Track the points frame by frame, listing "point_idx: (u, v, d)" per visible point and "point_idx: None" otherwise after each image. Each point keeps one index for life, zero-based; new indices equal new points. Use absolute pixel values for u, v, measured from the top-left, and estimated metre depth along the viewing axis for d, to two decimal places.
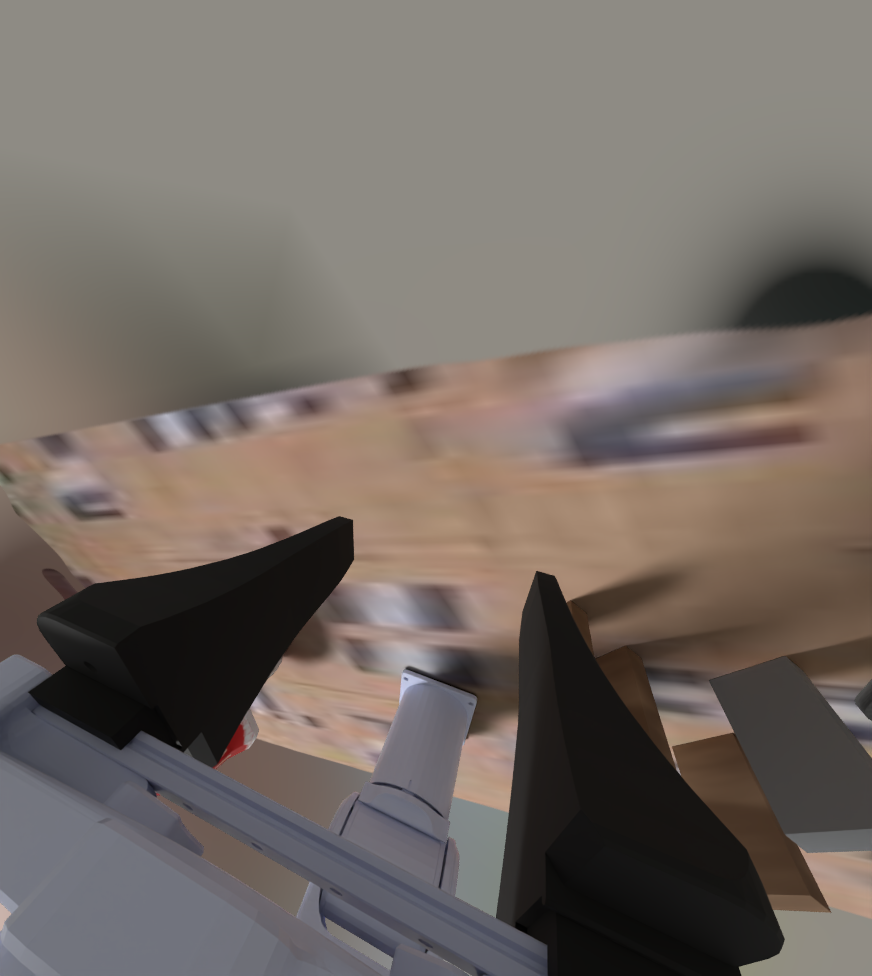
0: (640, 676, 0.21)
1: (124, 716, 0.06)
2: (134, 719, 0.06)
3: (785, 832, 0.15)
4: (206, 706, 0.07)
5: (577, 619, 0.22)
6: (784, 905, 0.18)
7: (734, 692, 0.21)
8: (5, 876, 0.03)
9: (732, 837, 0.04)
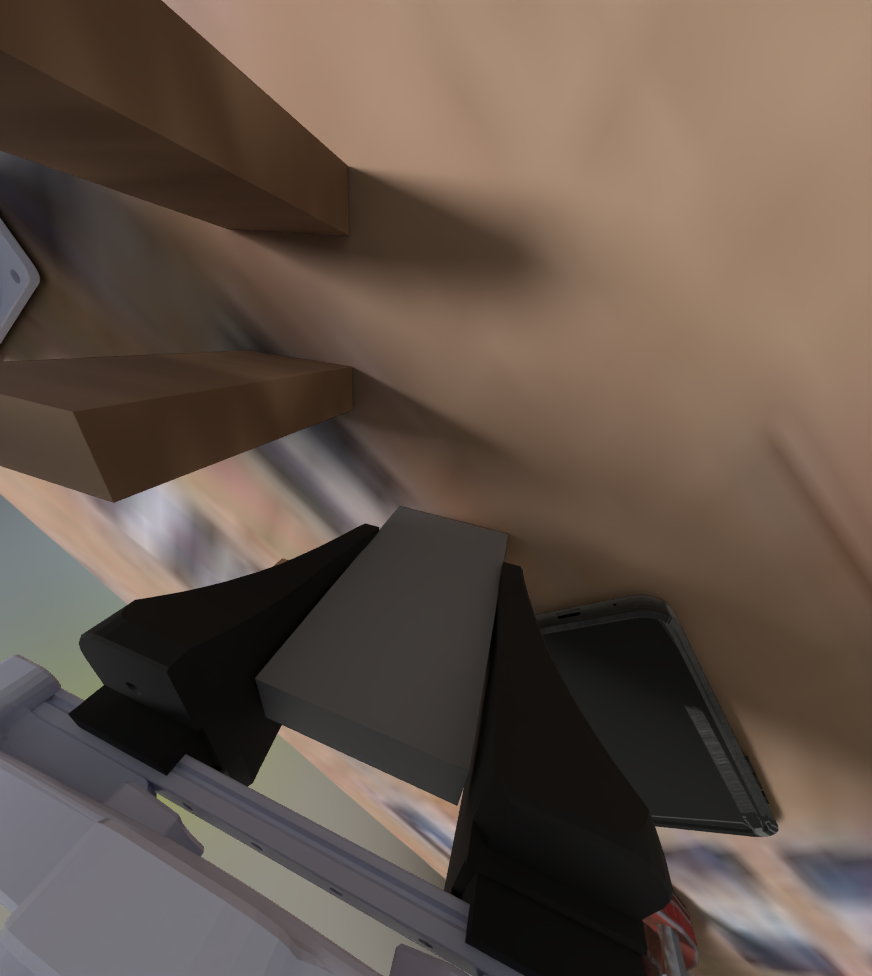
0: (321, 395, 0.10)
1: (169, 740, 0.06)
2: (179, 743, 0.06)
3: (260, 677, 0.07)
4: (245, 725, 0.07)
5: (319, 165, 0.08)
6: None
7: (413, 527, 0.12)
8: (4, 877, 0.03)
9: (638, 799, 0.04)
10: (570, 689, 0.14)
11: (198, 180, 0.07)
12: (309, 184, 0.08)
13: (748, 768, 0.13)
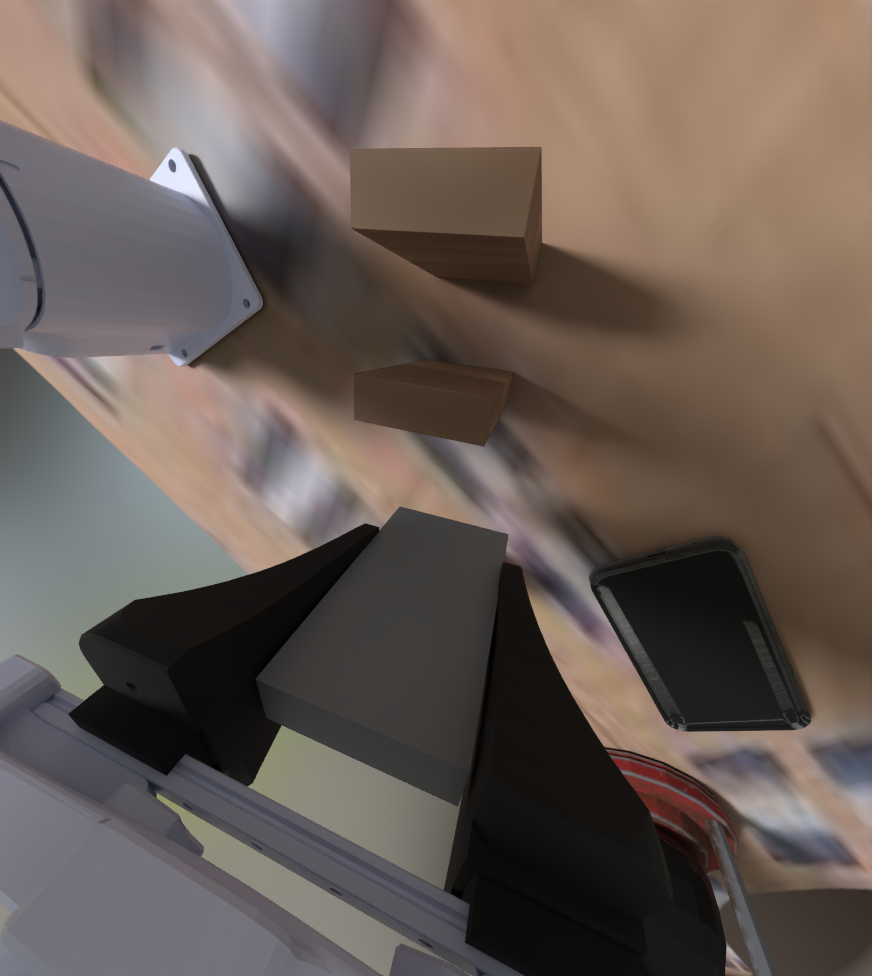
0: (507, 392, 0.15)
1: (169, 740, 0.06)
2: (179, 743, 0.06)
3: (260, 678, 0.07)
4: (245, 725, 0.07)
5: (538, 248, 0.13)
6: None
7: (413, 527, 0.12)
8: (5, 876, 0.03)
9: (637, 798, 0.04)
10: (652, 614, 0.19)
11: (494, 266, 0.11)
12: (535, 260, 0.13)
13: (789, 668, 0.18)
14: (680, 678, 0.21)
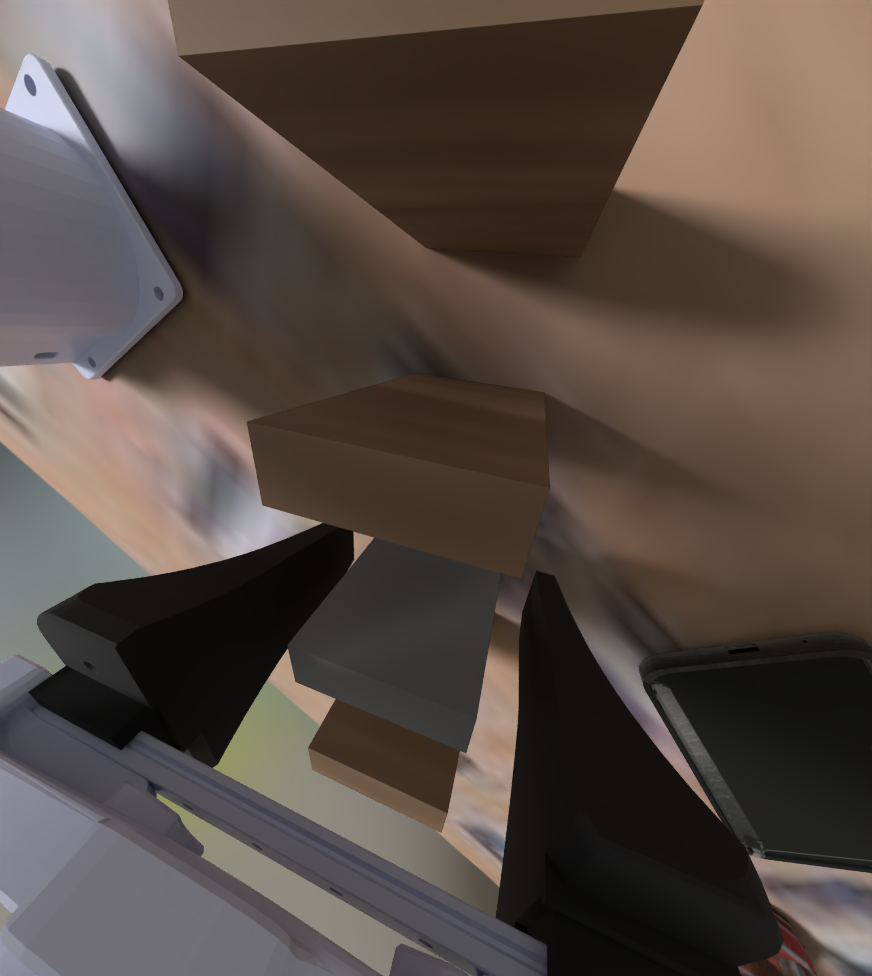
0: None
1: (124, 716, 0.06)
2: (134, 719, 0.06)
3: (291, 644, 0.08)
4: (206, 706, 0.07)
5: None
6: (386, 800, 0.10)
7: None
8: (5, 876, 0.03)
9: (732, 837, 0.04)
10: (729, 724, 0.14)
11: (531, 207, 0.06)
12: None
13: None
14: (763, 801, 0.15)
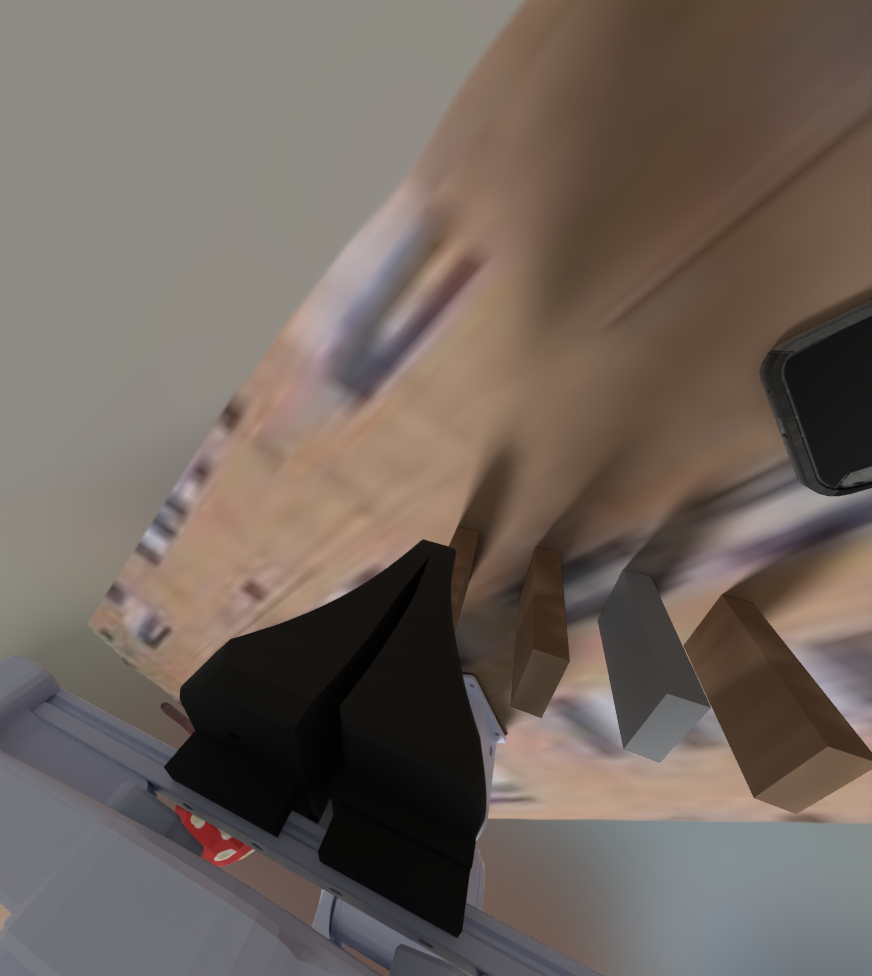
0: (547, 568, 0.19)
1: (279, 797, 0.05)
2: (288, 799, 0.05)
3: (624, 746, 0.15)
4: (336, 768, 0.07)
5: (459, 538, 0.21)
6: (828, 781, 0.12)
7: (606, 623, 0.20)
8: (5, 876, 0.03)
9: (472, 731, 0.05)
10: None
11: (465, 583, 0.19)
12: (465, 544, 0.20)
13: None
14: None
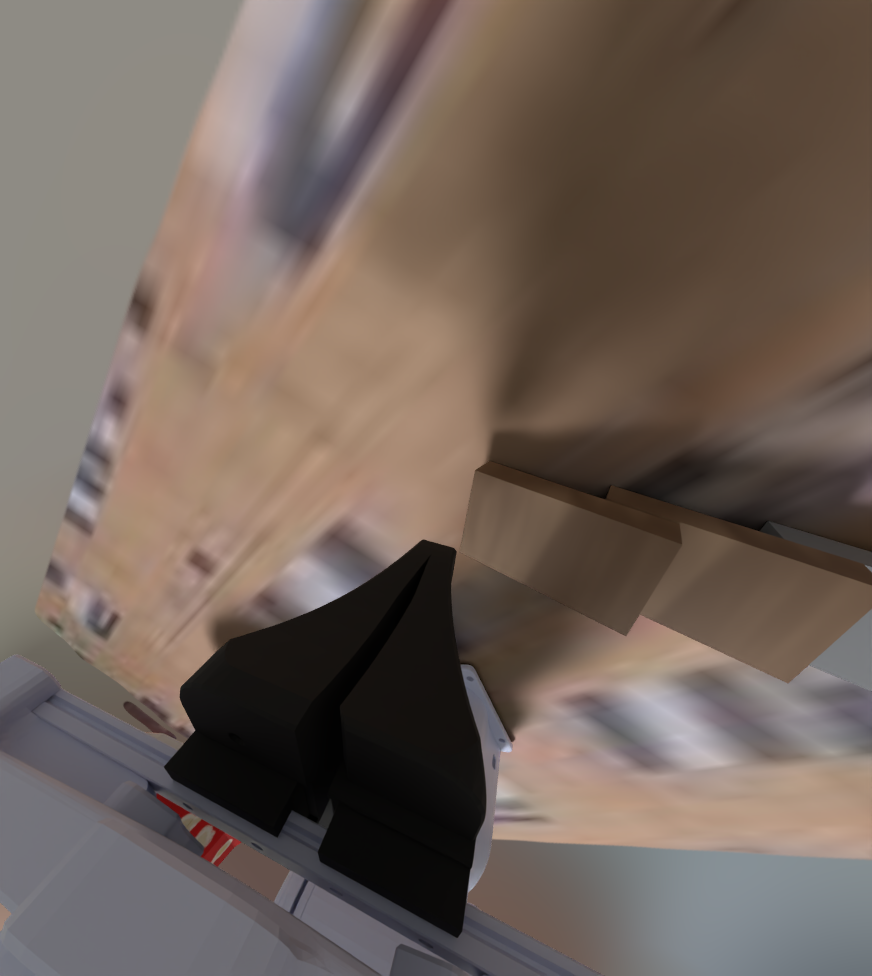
0: (661, 508, 0.13)
1: (279, 797, 0.05)
2: (288, 799, 0.05)
3: None
4: (337, 768, 0.07)
5: (507, 477, 0.14)
6: None
7: None
8: (5, 876, 0.03)
9: (473, 731, 0.05)
10: None
11: None
12: (521, 476, 0.14)
13: None
14: None
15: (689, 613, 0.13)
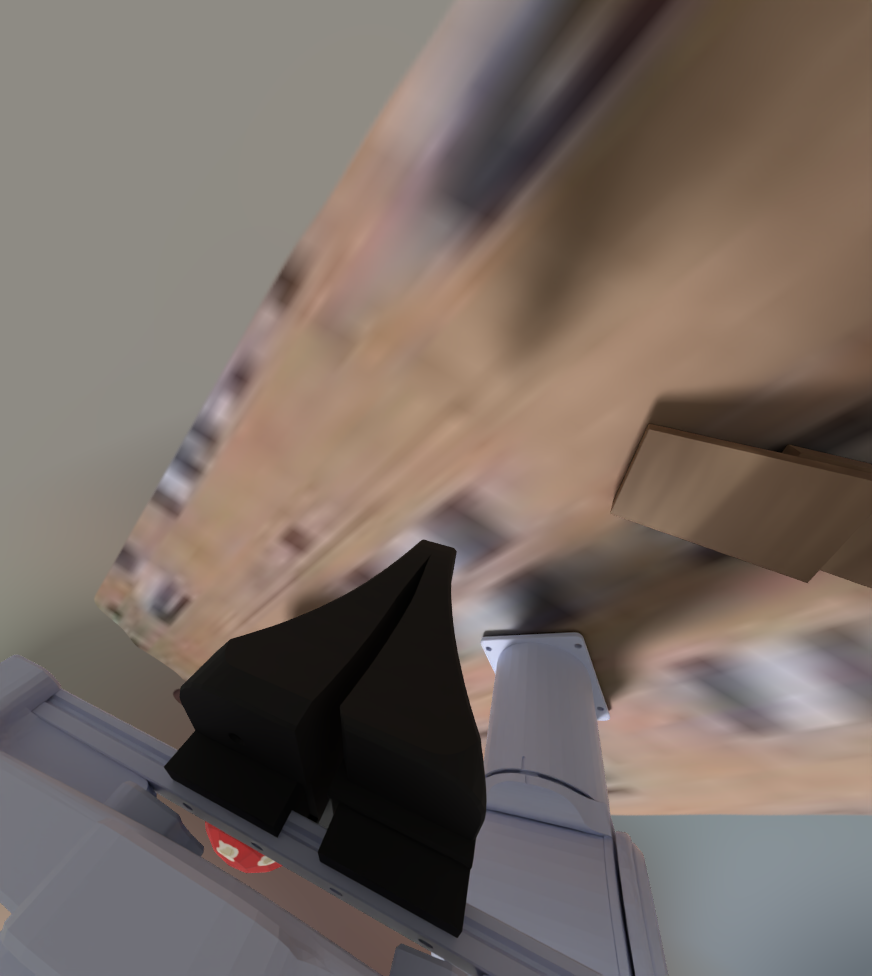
0: (855, 462, 0.13)
1: (278, 797, 0.05)
2: (288, 799, 0.05)
3: None
4: (336, 769, 0.07)
5: (682, 435, 0.14)
6: None
7: None
8: (5, 876, 0.03)
9: (473, 732, 0.05)
10: None
11: None
12: (693, 435, 0.15)
13: None
14: None
15: None
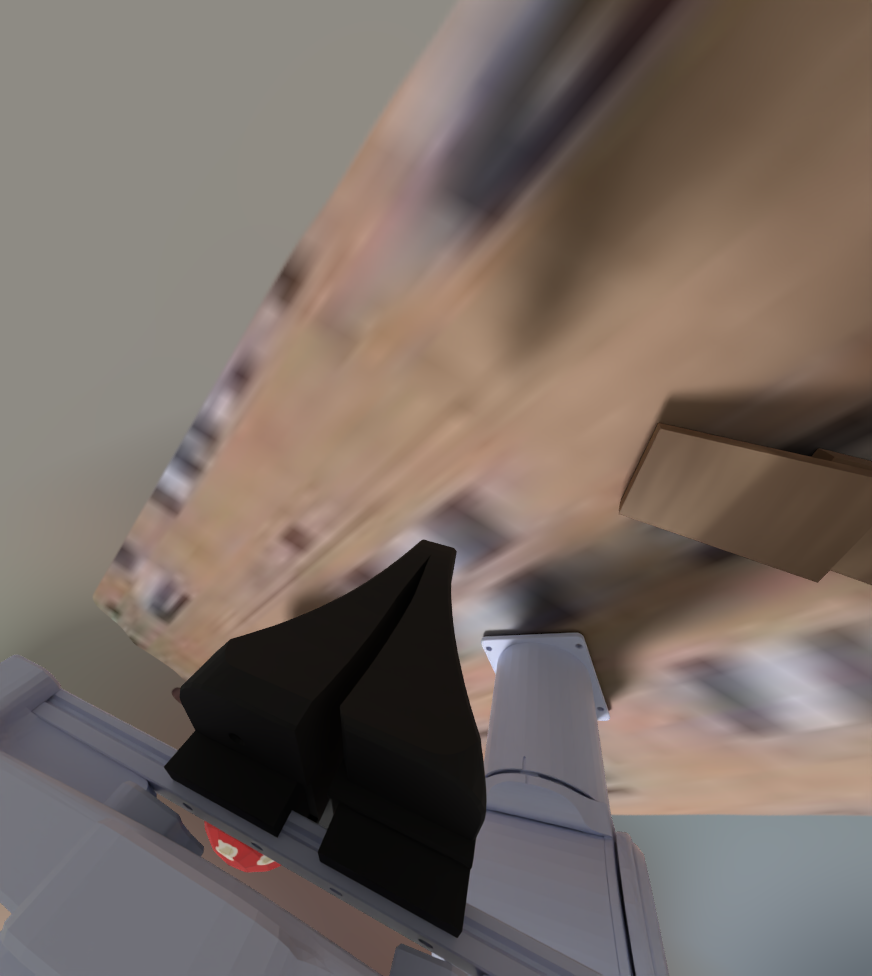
0: None
1: (279, 797, 0.05)
2: (288, 799, 0.05)
3: None
4: (337, 769, 0.07)
5: (693, 434, 0.14)
6: None
7: None
8: (5, 876, 0.03)
9: (473, 731, 0.05)
10: None
11: None
12: (703, 435, 0.14)
13: None
14: None
15: None
